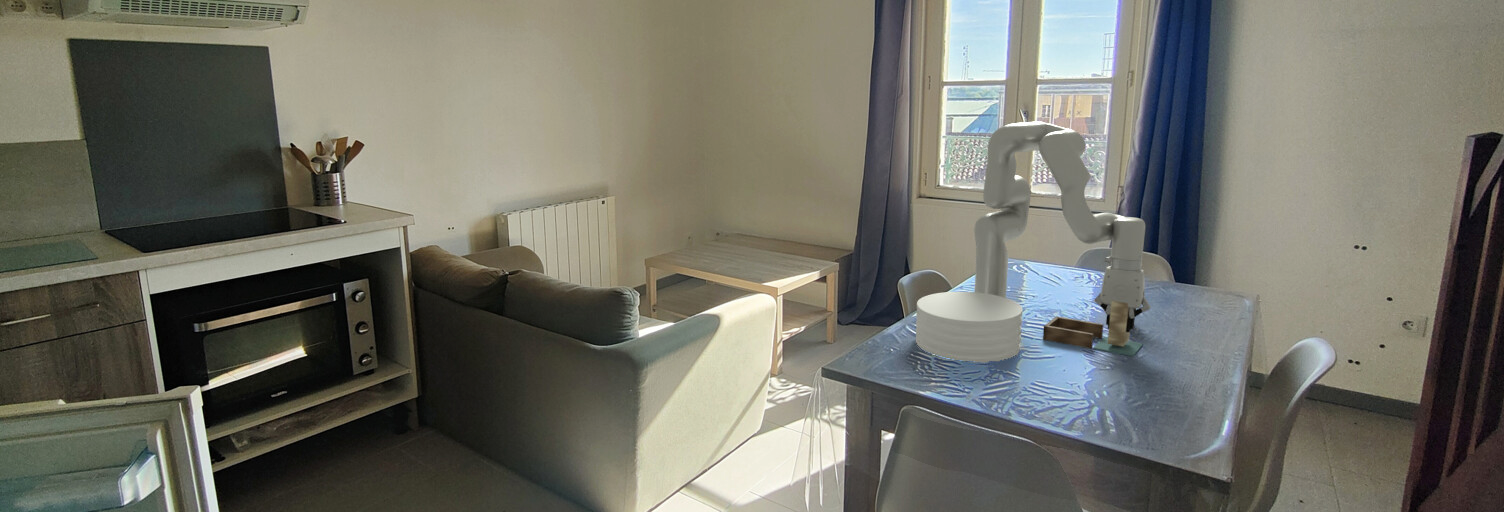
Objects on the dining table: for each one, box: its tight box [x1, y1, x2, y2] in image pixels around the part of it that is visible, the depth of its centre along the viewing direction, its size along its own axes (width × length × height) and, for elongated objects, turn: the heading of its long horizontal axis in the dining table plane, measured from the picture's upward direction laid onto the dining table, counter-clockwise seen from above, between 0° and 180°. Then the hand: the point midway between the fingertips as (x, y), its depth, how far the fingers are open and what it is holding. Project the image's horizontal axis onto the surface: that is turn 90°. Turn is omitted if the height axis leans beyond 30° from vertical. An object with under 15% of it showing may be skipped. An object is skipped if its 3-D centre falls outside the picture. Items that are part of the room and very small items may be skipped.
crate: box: [1042, 315, 1104, 350], centre depth 219 cm, size 13×11×4 cm
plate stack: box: [915, 291, 1024, 363], centre depth 216 cm, size 28×28×12 cm
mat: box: [1092, 336, 1144, 357], centre depth 212 cm, size 10×11×1 cm
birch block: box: [1107, 301, 1131, 346], centre depth 211 cm, size 4×6×12 cm, turn 142°
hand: (1119, 328), depth 211 cm, fingers closed on birch block, 4 cm apart
